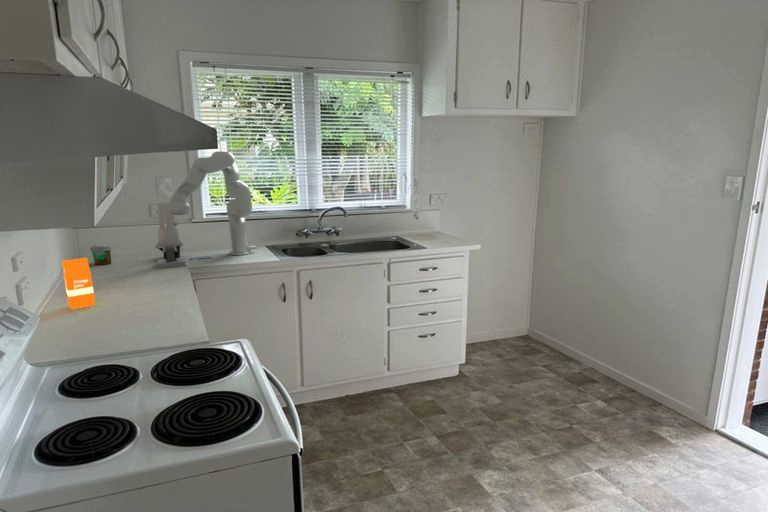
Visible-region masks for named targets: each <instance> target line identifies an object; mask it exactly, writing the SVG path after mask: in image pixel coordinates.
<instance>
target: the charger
mask: <svg viewBox="0 0 768 512" xmlns="http://www.w3.org/2000/svg"><path fill="white" fill-rule="evenodd" d="M165 251H166V257H167V262H175V255H174V247H166V249H165Z"/></svg>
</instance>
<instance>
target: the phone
mask: <svg viewBox="0 0 768 512" xmlns="http://www.w3.org/2000/svg"><path fill="white" fill-rule="evenodd" d="M206 258H209V259H212V256H211V255H203V256H191V257H190V260H191V261H194V260H193V259H198V260H207V259H206Z"/></svg>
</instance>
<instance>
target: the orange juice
mask: <svg viewBox="0 0 768 512" xmlns="http://www.w3.org/2000/svg"><path fill="white" fill-rule="evenodd" d="M62 270H63V278H64V279H63V280H64V285H65V292H66V297H67V303H68V307H69V306H70V308H71V309H75V308H83V307H88V306H93V305H96V299H95V293H94V286H93V280H92V274H91V269H90V265H89V261H88V257H81V258H74V259H66V260H65V259H64V260H62ZM70 308H69V309H70Z"/></svg>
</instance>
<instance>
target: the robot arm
mask: <svg viewBox="0 0 768 512" xmlns="http://www.w3.org/2000/svg"><path fill="white" fill-rule="evenodd" d="M220 171H221V172H222V174H223V176H224V177H223V178H224V182H225V183H224V184H225V192H226V194H227V196H229V197H230V198H234V199H231V200H230V201H228V203H227V204H226V212H227V213H226V214H227V216H228V217H227V218H228V222H229V223H228V224H229V236H230V248H231V250H229V251H228V254H229V255H231V256H244V255H249V254H251V253H252V250H257V245H249V243H248V231H247V230H248V229H247V220H246V218H248V217H249V216H251V214H252V211H253V205H252V204H253V203H252V195H251V190H250V187H249V185H248V184H246V182H243V181H241V175H240V170H239V168H238V166H237V164H236V162H235V156H234V154H232V153H231V152H229V151H222V150H221V151H219V150H218V151H215V152H213V153H212V154H211V156H209V157H204V156H203V157H197V158H196V159H195V160H194V162H193V164H192V165H191V168H190V169H189V171H188V173H187V175H186V177H185V179H184V180H183V181H182V182H181V184H180V185H179V186H178V187H177V188H176V190H175V191H174V193H173V194H172V197H171V198H170V200H169V201H161V202H159V203H157V211H158V223H159V227H158V241H157V243H156V245H155V249H158V250H159V251H161V253H163V259H166V260H167V257H166V247H174V255H175V259H176V257H177V251H178V250H179V249H180V250H181V248H183V247H184V243H183V242H182V241H181V239H180V236H179V230H178V227H177V226H178V225H179V223H178V222H176V221H175V216H185V215H187V214H188V213H190V210H191V207H190V204H189V203H188V202H186V201H187V199H188V198H189V197H190V196H191V195H192V194H193V193H195V192H196V191H198V190H199V189H200V188H201V186H202V184H203V182H204V180H205V179H206V177H207V175H208V174H209V175H210V174H213V173H217V172H220ZM179 239H180V240H179ZM179 244H180V245H179ZM178 245H179V246H178ZM176 246H178V247H176Z"/></svg>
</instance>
